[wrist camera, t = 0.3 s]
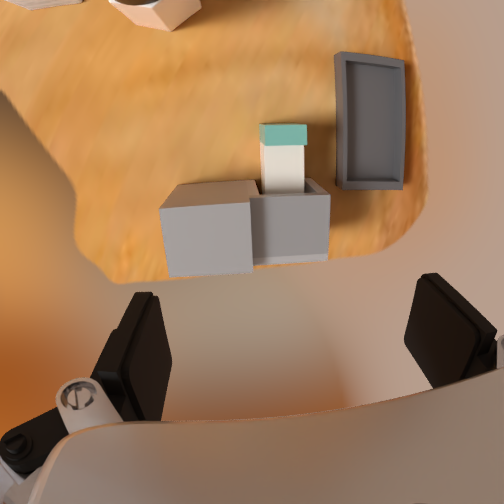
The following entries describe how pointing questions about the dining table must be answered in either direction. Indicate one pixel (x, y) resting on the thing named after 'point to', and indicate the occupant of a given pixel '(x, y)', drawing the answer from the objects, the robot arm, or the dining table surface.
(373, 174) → the tray
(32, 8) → the supplement box
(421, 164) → the dining table surface
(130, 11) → the jar
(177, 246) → the bay
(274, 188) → the teal-capped white block
